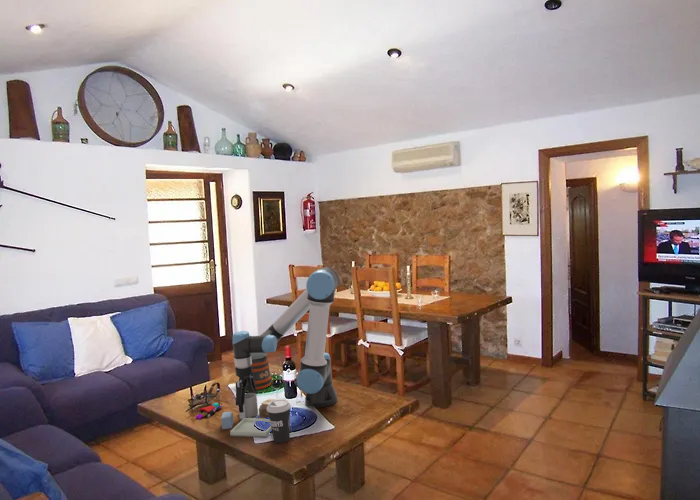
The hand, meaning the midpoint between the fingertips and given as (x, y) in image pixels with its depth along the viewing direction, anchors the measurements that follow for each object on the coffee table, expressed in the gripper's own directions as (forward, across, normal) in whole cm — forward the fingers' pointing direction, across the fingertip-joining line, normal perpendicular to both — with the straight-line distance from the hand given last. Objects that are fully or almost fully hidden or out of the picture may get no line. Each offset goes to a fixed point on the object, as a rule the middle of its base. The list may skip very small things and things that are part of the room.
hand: (248, 413), depth 226 cm
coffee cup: (0, +23, +25) cm, 34 cm away
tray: (0, +15, +10) cm, 18 cm away
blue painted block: (0, +12, -4) cm, 13 cm away
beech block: (0, -6, +8) cm, 10 cm away
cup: (+1, 0, 0) cm, 1 cm away
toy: (+1, -1, -20) cm, 20 cm away
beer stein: (+1, -37, -13) cm, 39 cm away
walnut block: (0, +3, +10) cm, 10 cm away
